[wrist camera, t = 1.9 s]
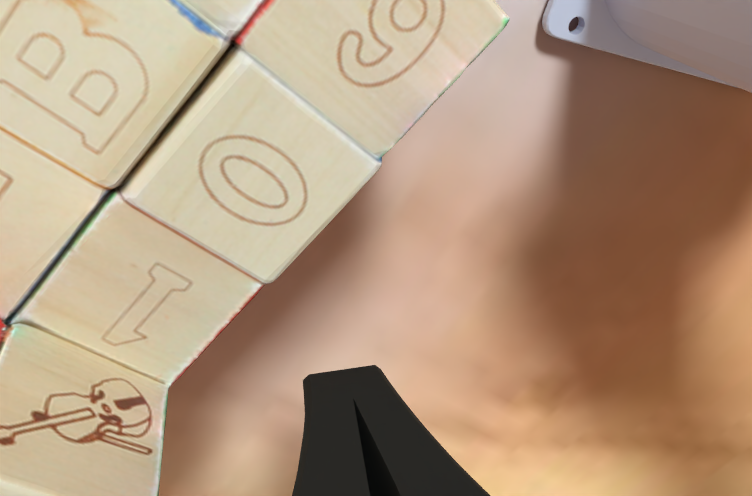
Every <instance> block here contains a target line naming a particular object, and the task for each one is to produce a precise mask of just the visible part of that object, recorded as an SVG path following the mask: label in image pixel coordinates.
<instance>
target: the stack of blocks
mask: <svg viewBox="0 0 752 496" xmlns="http://www.w3.org/2000/svg"><path fill="white" fill-rule="evenodd" d="M509 19H510V18H509V17H508V16H507V15H506V13H505V12H504V11H503V10H502V9H501V7H500V6H499V5H498V4H497V3H496V2H495V0H0V496H158V495H159V483H160V471H161V461H162V451H163V441H164V431H165V421H166V412H167V400H168V388H169V387H170V386H171V385H172V384H173V383H174V382H175V381H176V380H177V379H178V378H179V377H180V376H181V375H182V374H183V373H184V372H185V371H186V370H187V369H188V367H189V366H190V365H191V364H192V363H193V362H194V361H195V360H196V359H197V358H198V357H199V356H200V355H201V354H202V352H203V351H204V350H205V349H206V348H207V347H208V346H209V345H210V344H211V343H212V342H213V341H214V339H215V338H216V337H217V336H218V335H219V334H220V333H221V332H222V331H223V330H224V329H225V328H226V326H227V325H228V324H229V323H230V322H231V321H232V320H233V319H234V318H235V317H236V316H237V315H238V314H239V313H240V312H241V311H242V309H243V308H244V307H245V306H246V305H247V304H248V303H249V302H250V301H251V300H252V299H253V298H254V297H255V295H256V294H257V293H258V292H259V291H260V289H261V288H262V287H263V286H264V284H269V283H272V282H273V281H275V280H276V279H277V278H278V277H279V276H280V275H281V274H282V273H283V272H284V271H285V269H286V268H287V267H288V266H289V265H290V264H291V263H292V262H293V261H294V260H295V259H296V258H297V257H298V256H299V255H300V253H301V252H302V251H303V250H304V249H305V248H306V247H307V246H308V245H309V244H310V243H311V242H312V241H313V240H314V239H315V238H316V236H317V235H318V234H319V233H320V232H321V231H322V230H323V229H324V228H325V227H326V226H327V225H328V224H329V223H330V222H331V220H332V219H333V218H334V217H335V216H336V215H337V214H338V213H339V212H340V211H341V210H342V209H343V208H344V207H345V205H346V204H347V203H348V202H349V201H350V200H351V199H352V198H353V197H354V196H355V195H356V194H357V193H358V191H359V190H360V189H361V188H362V187H363V186H364V185H365V184H366V183H367V182H368V181H369V180H370V179H371V178H372V176H373V175H374V174H375V173H376V172H377V171H378V170H379V169H380V167H381V165H382V156H383V155H384V154H385V153H386V152H388V151H389V150H390V149H391V148H392V147H393V146H394V145H395V144H396V143H397V142H398V141H399V140H400V139H401V138H402V137H403V136H404V135H405V134H406V133H407V132H408V131H409V130H410V129H411V128H412V127H413V125H414V124H415V123H416V122H417V121H418V120H419V119H420V118H421V117H422V116H423V115H424V114H425V112H426V111H427V110H428V109H429V108H430V107H431V106H432V105H433V104H434V102H435V101H436V100H437V99H438V98H439V97H440V96H441V95H442V94H443V93H444V92H445V91H446V90H447V89H448V88H449V87H450V86H451V85H452V84H453V83H454V82H455V81H456V80H457V79H458V78H459V77H460V75H461V74H462V73H463V72H464V70H465V69H466V68H467V67H468V66H469V65H470V64H471V63H472V62H473V61H474V60H475V59H476V58H477V57H478V56H479V55H480V54H481V53H482V52H483V50H484V49H485V48H486V47H487V46H488V45H489V44H490V43H491V42H492V41H493V40H494V39H495V38H496V37H497V35H498V34H499V33H500V32H501V31H502V30H503V29H504V28H505V26H506V25H507V23H508V21H509Z"/></svg>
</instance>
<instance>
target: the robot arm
mask: <svg viewBox="0 0 752 496" xmlns="http://www.w3.org/2000/svg"><path fill="white" fill-rule="evenodd" d="M575 17H578V19H579V23H578V26H577V27H576V29H575V30H573V31H571V32H570V31H569V29H568V27H569V23H570V21H571V20H572V19H573V18H575ZM542 25H543V29H544V30H545V32H546V33H547V34H549V35H551V36H553V37H554V38H557V39H561V40H565V41H568V42H572V43H576V44H579V45H583V46H587V47H590V48H594V49H598V50H601V51H605V52H609V53H612V54H616V55H620V56H623V57H627V58H631V59H634V60H638V61H642V62H645V63H649V64H653V65H656V66H660V67H664V68H667V69H671V70H675V71H678V72H682V73H686V74H689V75H693V76H697V77H700V78H704V79H708V80H711V81H715V82H719V83H722V84H726V85H730V86H733V87H737V88H741V89H744V90H746V91H748V92H751V93H752V0H549V1H548V4H547V7H546V9H545V12H544V15H543V19H542ZM303 389H304V404H305V422H304V433H303V440H302V447H301V453H300V460H299V466H298V472H297V477H296V481H295V486H294V490H293V494H292V496H490V495H489V494H488V493H487V492H486V491H485V490H484V489H483V488H482V487H481V486H480V485H479V484H478V483H477V482H476V481H475V480H474V479H473V478H472V477H471V476H470V475H469V474H468V473H467V472H466V471H465V470H464V469H463V468H462V467H461V466H460V465H459V464H458V463H457V462H456V461H455V460H454V459H453V458H452V457H451V456H450V455H449V454H448V453H447V451H446V450H445V449H444V448H443V447H442V446H441V445H440V444H439V442H438V441H437V440H436V439H435V438H434V437H433V436H432V435H431V433H430V432H429V431H428V430H427V429H426V428H425V427H424V425H423V424H422V423H421V422H420V421H419V419H418V418H417V417H416V416H415V415H414V413H413V412H412V411H411V410H410V408H409V407H408V406H407V405H406V403H405V402H404V401H403V400H402V398H401V397H400V396H399V394H398V393H397V392H396V390H395V389H394V388H393V386H392V385H391V383H390V382H389V381H388V379H387V378H386V376H385V375H384V373H383V372H382V370H381V369H380V368H378V367H377V366H376V365H372V366H365V367H358V368H351V369H344V370H337V371H330V372H323V373H316V374H310V375H308V376H307V377H306V378H305V379H304V380H303Z"/></svg>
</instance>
